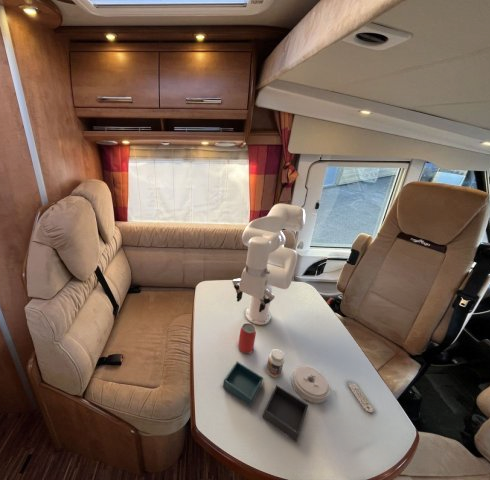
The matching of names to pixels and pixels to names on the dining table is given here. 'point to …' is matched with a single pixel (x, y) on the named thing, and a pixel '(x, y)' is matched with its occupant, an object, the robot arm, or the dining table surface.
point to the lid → (310, 384)
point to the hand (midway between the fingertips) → (249, 304)
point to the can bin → (285, 412)
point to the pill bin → (243, 383)
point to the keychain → (360, 397)
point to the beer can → (247, 338)
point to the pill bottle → (275, 363)
